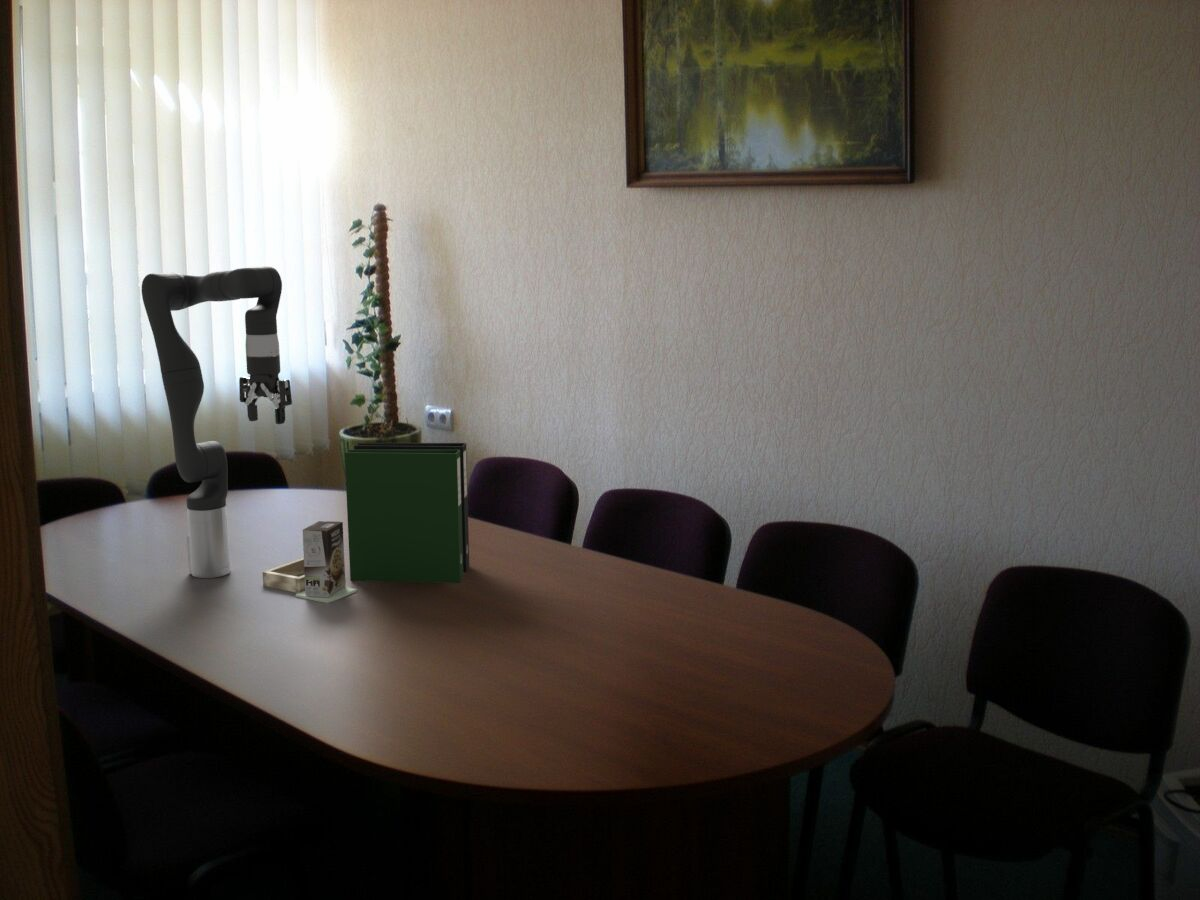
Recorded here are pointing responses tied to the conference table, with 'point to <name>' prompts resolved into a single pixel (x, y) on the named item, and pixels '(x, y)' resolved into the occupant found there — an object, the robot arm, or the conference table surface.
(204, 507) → the robot arm
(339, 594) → the mat
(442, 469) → the binder
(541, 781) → the conference table surface
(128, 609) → the conference table surface
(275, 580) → the pocket frame
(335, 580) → the coffee box
